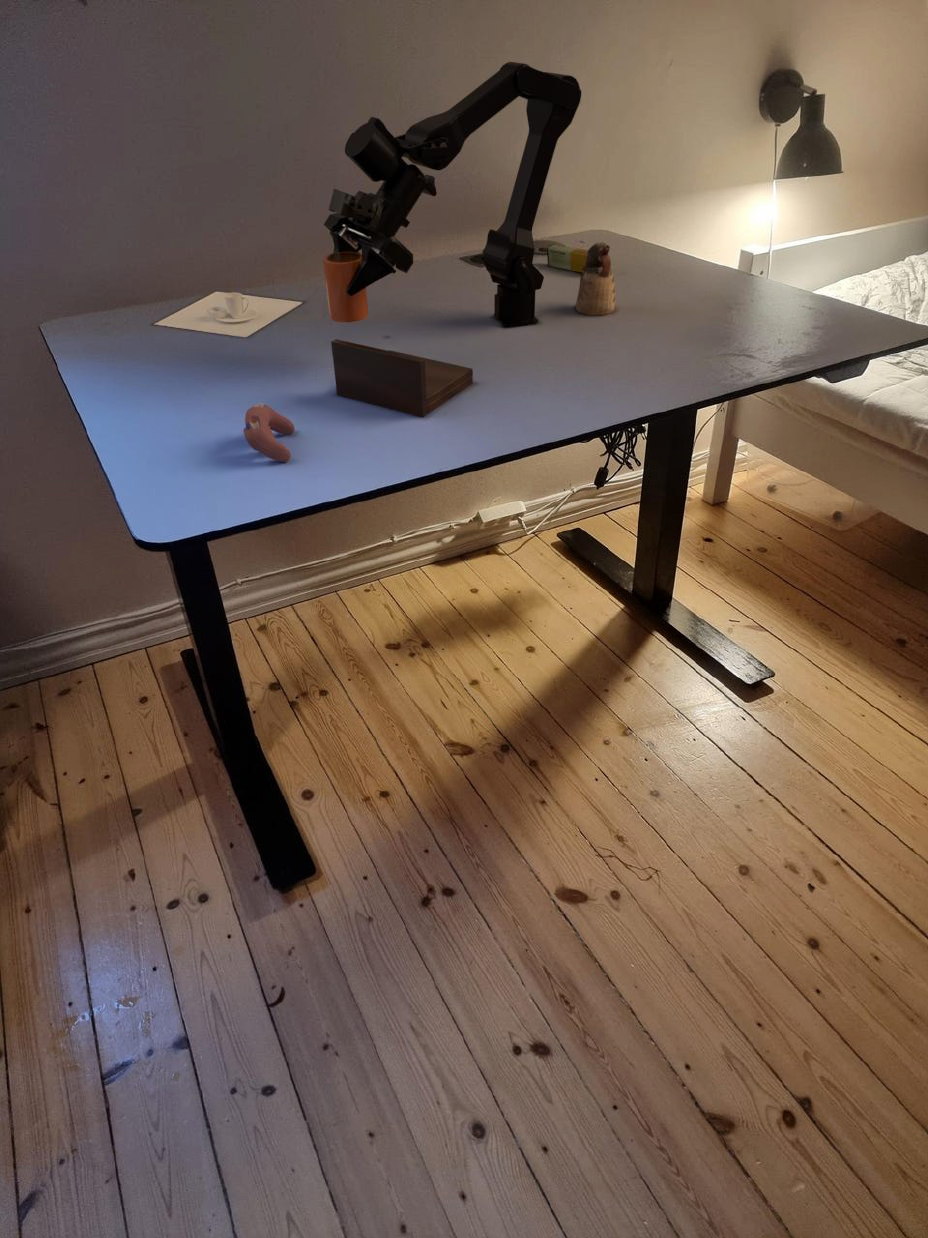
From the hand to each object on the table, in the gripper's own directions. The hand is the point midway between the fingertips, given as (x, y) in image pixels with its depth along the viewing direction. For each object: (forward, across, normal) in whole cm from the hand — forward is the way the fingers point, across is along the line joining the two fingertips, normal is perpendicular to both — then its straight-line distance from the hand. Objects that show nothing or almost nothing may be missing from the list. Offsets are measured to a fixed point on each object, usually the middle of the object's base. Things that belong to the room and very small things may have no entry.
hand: (338, 288), depth 139 cm
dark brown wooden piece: (+7, +14, +11) cm, 19 cm away
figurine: (-27, +4, +45) cm, 52 cm away
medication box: (-36, -17, +54) cm, 67 cm away
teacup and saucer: (+12, -36, +5) cm, 38 cm away
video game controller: (+25, +20, -7) cm, 33 cm away
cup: (+2, 0, +4) cm, 5 cm away
